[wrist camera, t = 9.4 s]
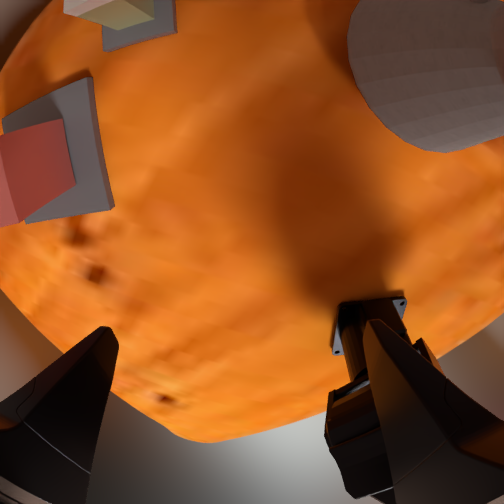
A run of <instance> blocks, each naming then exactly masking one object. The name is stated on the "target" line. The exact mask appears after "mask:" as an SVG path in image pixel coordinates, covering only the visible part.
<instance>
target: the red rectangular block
mask: <svg viewBox="0 0 504 504" xmlns="http://www.w3.org/2000/svg"><path fill="white" fill-rule="evenodd" d="M75 185H76V183H75V179H74V174H73V170H72V166H71V161H70V157H69V152H68V147H67V141H66V136H65V130H64V124H63V118H62V119H58V120H53V121H49V122H45V123H41V124H37V125H33V126H30V127H26V128H23V129H19V130H16V131H13V132H10V133H7V134H4V135H1V136H0V227H4V226H8V225H12V224H16V223H20V222H21V221H23V220H24V219H25V218H27V217H28V216H29V215H31V214H32V213H34V212H35V211H37V210H38V209H40V208H41V207H42V206H44V205H45V204H47V203H48V202H50V201H52V200H53V199H55V198H56V197H58V196H59V195H61V194H62V193H64V192H66V191H67V190H69V189H70V188H72V187H74V186H75Z"/></svg>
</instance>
